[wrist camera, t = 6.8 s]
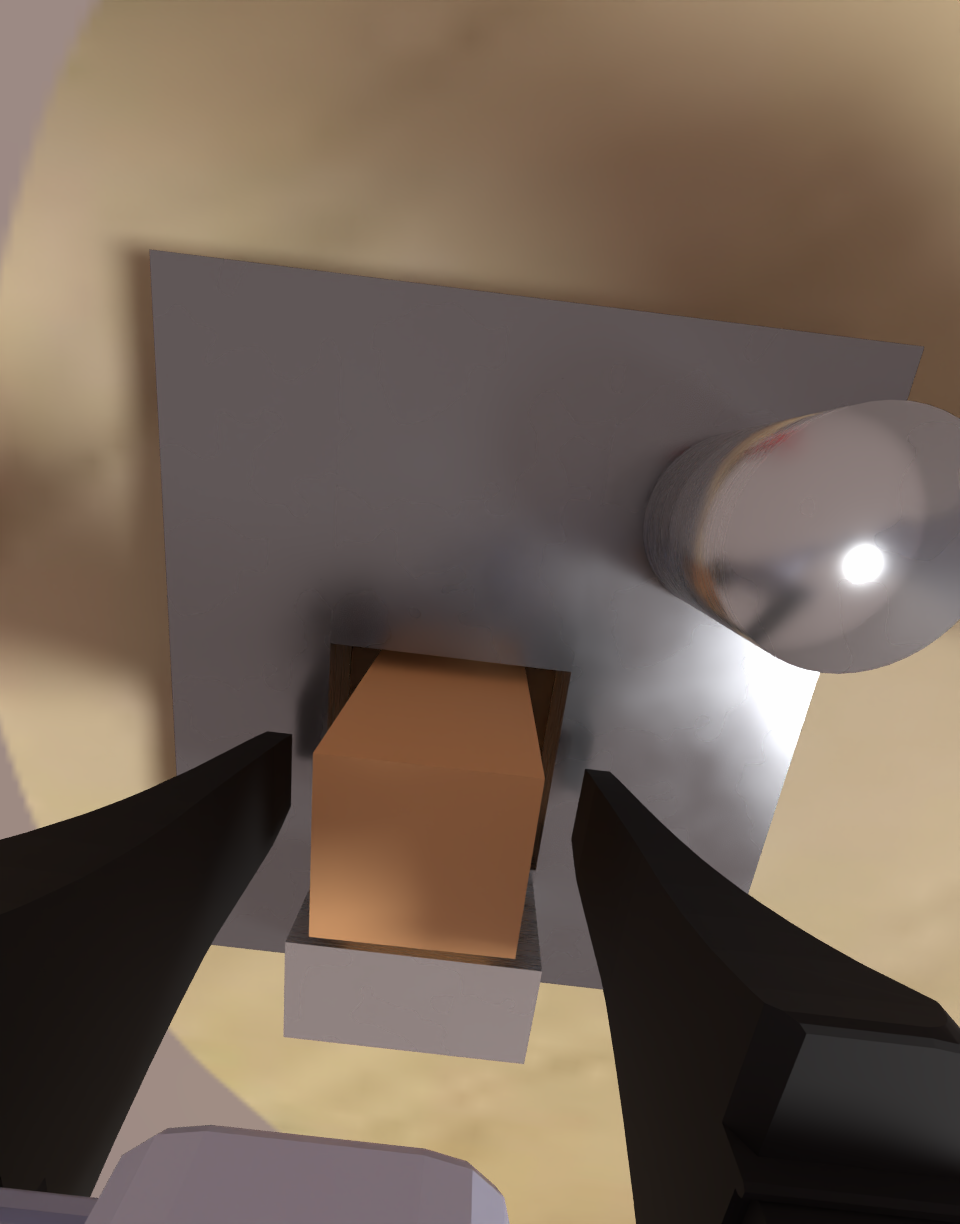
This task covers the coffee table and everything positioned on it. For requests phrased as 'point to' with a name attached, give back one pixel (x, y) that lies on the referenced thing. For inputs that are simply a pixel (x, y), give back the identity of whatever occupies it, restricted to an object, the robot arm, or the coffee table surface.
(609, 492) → the slotted grey plate
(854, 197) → the coffee table surface
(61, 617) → the coffee table surface
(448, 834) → the tan rectangular block
